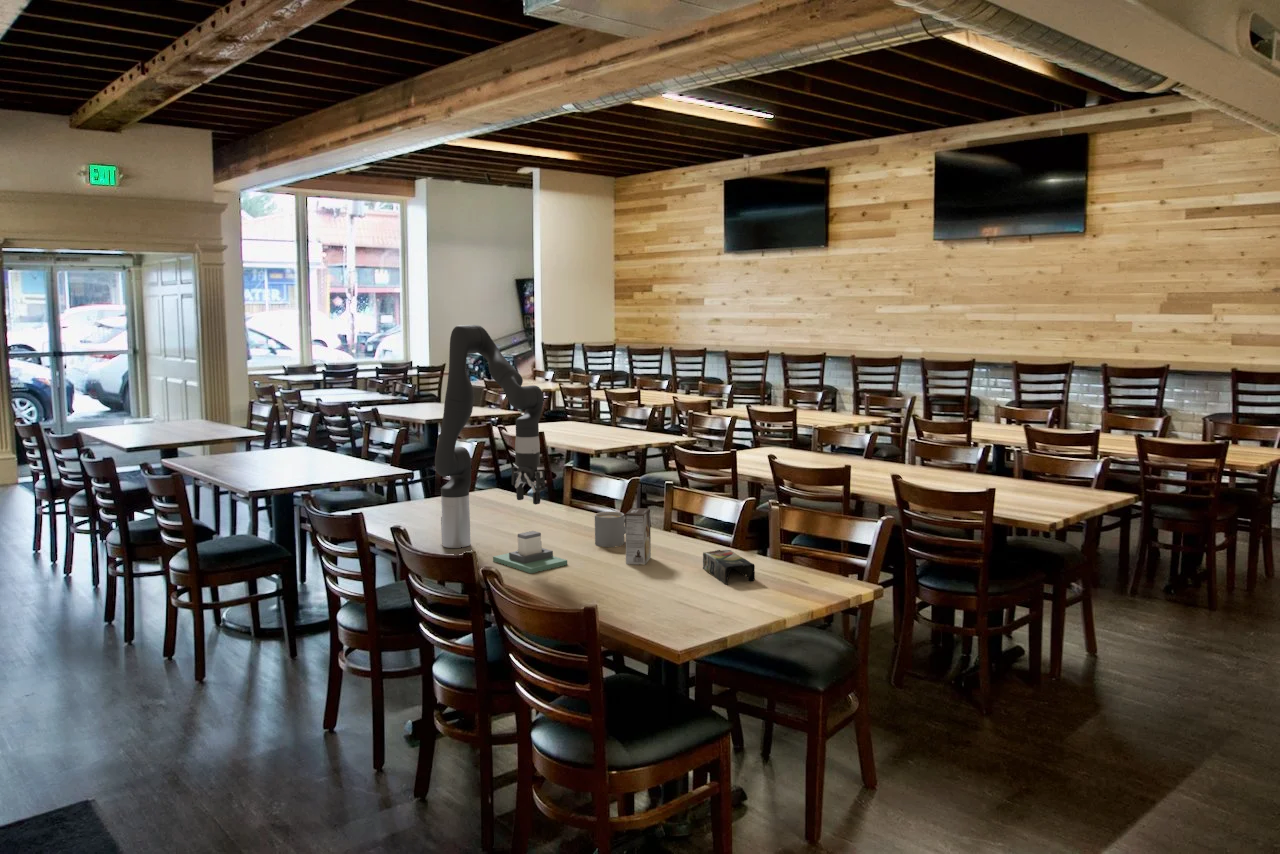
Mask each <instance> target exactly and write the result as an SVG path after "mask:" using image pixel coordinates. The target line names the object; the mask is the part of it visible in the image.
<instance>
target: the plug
mask: <svg viewBox="0 0 1280 854" xmlns="http://www.w3.org/2000/svg"><path fill="white" fill-rule="evenodd" d="M542 548H543V545H542V533H541V532H539V531H536V530H531V531H525V532H520V533H517V551H518V554H521V555H524V556H527V555H531V554H536V553H540V552H542Z"/></svg>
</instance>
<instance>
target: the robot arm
mask: <svg viewBox="0 0 1280 854" xmlns="http://www.w3.org/2000/svg"><path fill="white" fill-rule="evenodd" d="M448 353H449V360H448V361H449V362H448V374H447V375H448V376H447V383H446V391H445V396H444V405H443V415H442V421H441V427H440V428H441V429H440V434H439V437H438V441H437V446H436V449H435V455H434V467H435V471H436V473H437V474H438V475H439V476H440V477H451V478H450V479H449V480H448V482H446V483H445V484H444V485H442V487H441V488H440V497H441V498H440V499H441V500H440V501H441V503H440V504H441V517H440V526H441V530H440V531H441V532H440V533H441V544H442V546H443V548H449V549H460V548H461V547H462V548H465V547H469V546H471V544H472V543H471V541H472V540H471V516H470V515H471V513H470V509H471V508H470V489H471V485H472V458H471V455H470V452H469V451H468V449H467V448H465V447H463V446H456V444H457V441H458V438H459V436H460V433H461V432H462V430H463V429H464V427H465V426H466V424H467V423H468V422H469V420H470V418H471V416H472V414H473V410H474V401H475V390H474V387H473V385H472V383H471V380H470V378H469V376H468V373H467V358H468V355H470V354H479V355H480V356H482V357H483V358H484V359H485V360H486V361H487V363H488V364H487V365H488V372H489V373H490V376H491V378H492V379H493V380H494V382H496V384H497V385H498V386H499V387H500V388H501V389H502V390H503V392H504V395H505V396H506V398H507V401H508V403H509V404H510V406H512V407H513V408H514V409H516V410H520V411H521V410H525V411H524V414H523V415H521V416H519V417H517V418H516V420H515V442H514V443H515V444H514V447H515V450H514V455H515V456H514V457H515V459H514V460H515V466H512V467H511V485H512V486H514V488H515V489H516V495H515V496H516V500H517V501H523V500H524V499H525V498H524V497H525V496H524V495H525V493H524V491H525V490H524V486H525V485H526V484H527V485H528V486H529V487H531V489H532V504H533V505H539V504H540V503H541V493H542V492H543V491H546V480H545V471H544V470H543V471H539V470H538V467H539V466H540V465H541V449H540V448H541V446H540V445H541V444H540V443H541V442H540V432H539V430H540V429H539V425H540V424H539V423H540V418H541V414H542V411H543V407H544V400H545V399H544V393H543V390H542V389H541V388H540V386H538V385H534V384H533V385H523V382H524V380H523V377H522V375H521V374H520V373H519V372H518V371H517V370H516V369H515V367H514V366H513V365H511V363H510V362H509V361H508V360H507V359H506V358H505V356H504V355H503V354H502V352H501V351H500V349H499V348H498V346H497V345H496V343H495V341H494V340H493V339H492V337H491V336H490V334H489V333H488V331H487V330H486V329H485V328H484V327H483V326H481V325H479V324H458V325H456V326H454V327H453V329H452V331H451V333H450V338H449V352H448ZM522 385H523V386H522Z"/></svg>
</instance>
